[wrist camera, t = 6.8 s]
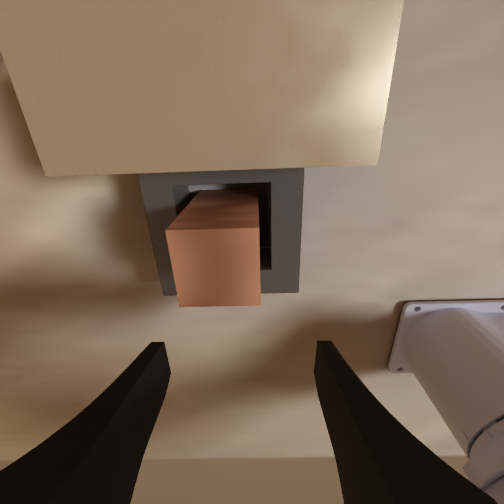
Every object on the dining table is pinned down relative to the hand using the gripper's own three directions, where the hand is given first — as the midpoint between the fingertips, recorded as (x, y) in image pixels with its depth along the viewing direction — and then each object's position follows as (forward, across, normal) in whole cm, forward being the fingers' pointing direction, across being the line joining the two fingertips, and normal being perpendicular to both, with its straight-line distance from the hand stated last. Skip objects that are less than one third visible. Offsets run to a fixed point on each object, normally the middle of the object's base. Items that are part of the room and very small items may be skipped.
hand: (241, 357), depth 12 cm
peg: (+9, +1, -4) cm, 10 cm away
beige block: (+9, +1, -11) cm, 15 cm away
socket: (+9, +1, -4) cm, 10 cm away
